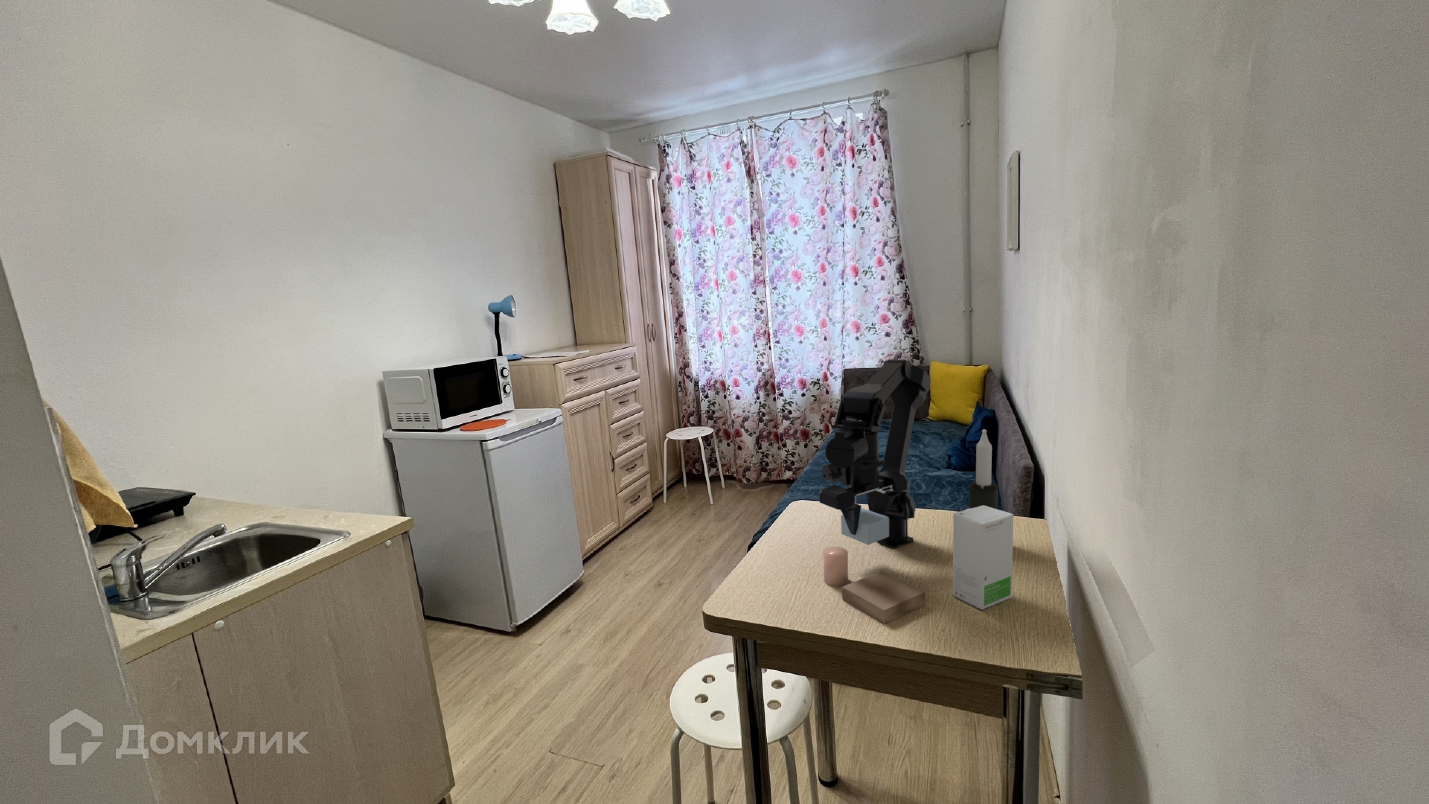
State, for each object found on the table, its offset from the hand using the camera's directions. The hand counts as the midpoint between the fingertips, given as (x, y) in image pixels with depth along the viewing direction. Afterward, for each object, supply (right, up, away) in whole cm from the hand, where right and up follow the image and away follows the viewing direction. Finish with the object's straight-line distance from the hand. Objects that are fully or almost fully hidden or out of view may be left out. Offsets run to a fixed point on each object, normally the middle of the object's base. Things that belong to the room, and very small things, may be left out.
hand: (864, 530), depth 117 cm
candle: (+27, -5, +8) cm, 28 cm away
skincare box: (+17, -9, -13) cm, 23 cm away
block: (0, -1, 0) cm, 1 cm away
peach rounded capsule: (-7, -9, -4) cm, 12 cm away
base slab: (0, -10, -13) cm, 16 cm away
